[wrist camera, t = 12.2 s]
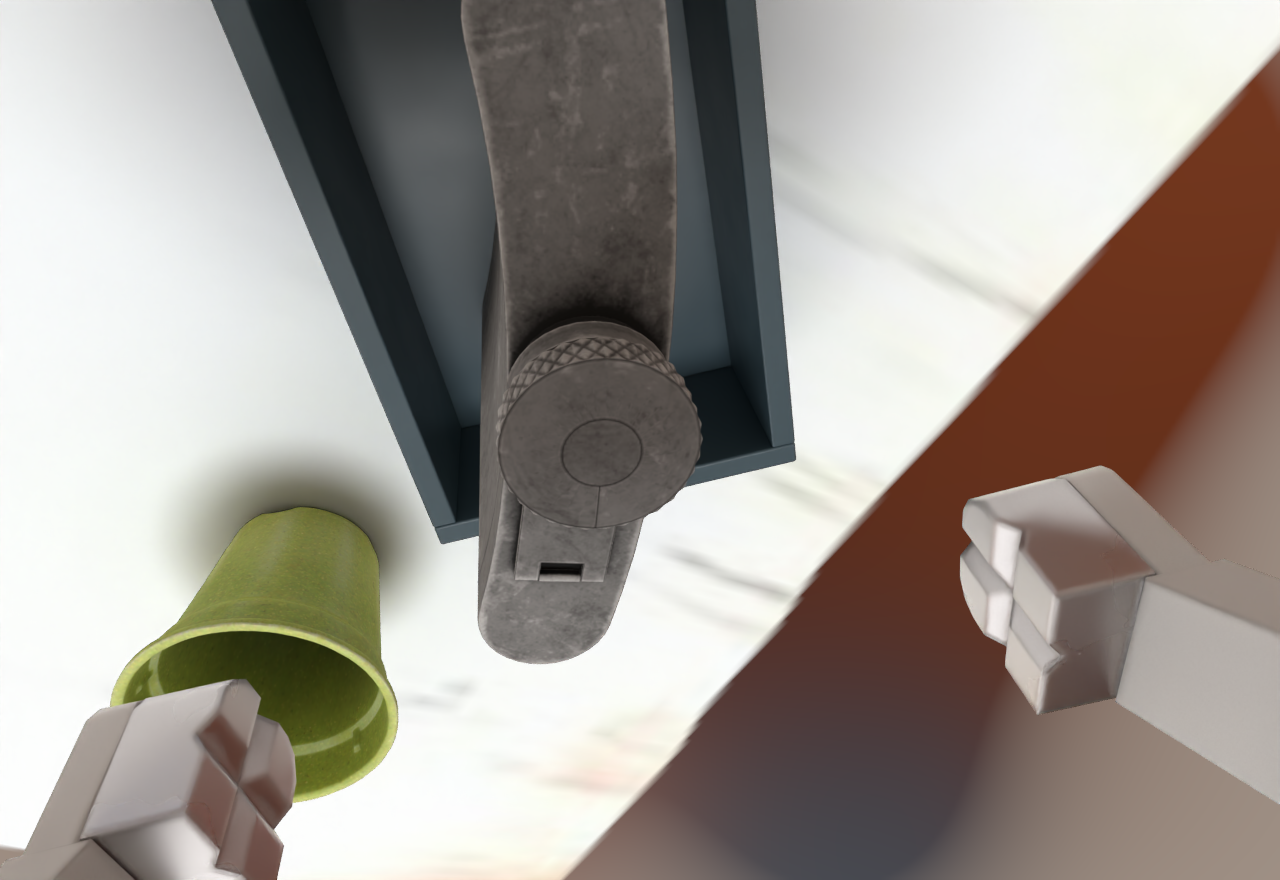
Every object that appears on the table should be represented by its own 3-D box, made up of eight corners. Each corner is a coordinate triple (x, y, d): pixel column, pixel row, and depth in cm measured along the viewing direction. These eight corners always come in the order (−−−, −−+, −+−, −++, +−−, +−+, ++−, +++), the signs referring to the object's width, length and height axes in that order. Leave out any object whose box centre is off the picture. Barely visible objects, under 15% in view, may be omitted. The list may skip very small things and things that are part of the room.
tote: (196, -225, 22) (99, -261, 16) (664, -325, 22) (722, -393, 17) (448, 440, 34) (440, 545, 29) (748, 370, 34) (797, 461, 29)
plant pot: (153, 594, 36) (70, 769, 29) (237, 435, 33) (165, 589, 25) (359, 659, 40) (331, 828, 33) (454, 523, 36) (445, 679, 29)
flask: (603, -101, 24) (784, -78, 9) (580, 344, 32) (660, 743, 17) (473, -114, 24) (449, -112, 9) (482, 344, 31) (477, 757, 16)
